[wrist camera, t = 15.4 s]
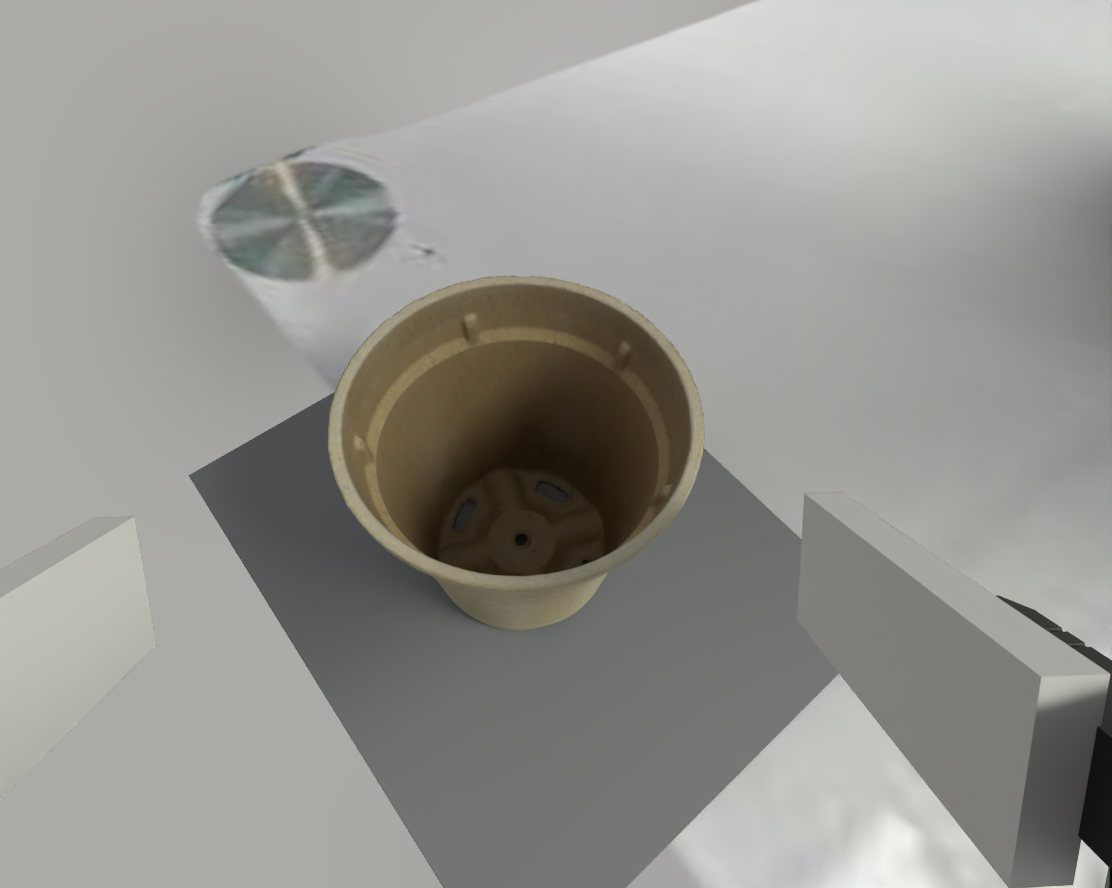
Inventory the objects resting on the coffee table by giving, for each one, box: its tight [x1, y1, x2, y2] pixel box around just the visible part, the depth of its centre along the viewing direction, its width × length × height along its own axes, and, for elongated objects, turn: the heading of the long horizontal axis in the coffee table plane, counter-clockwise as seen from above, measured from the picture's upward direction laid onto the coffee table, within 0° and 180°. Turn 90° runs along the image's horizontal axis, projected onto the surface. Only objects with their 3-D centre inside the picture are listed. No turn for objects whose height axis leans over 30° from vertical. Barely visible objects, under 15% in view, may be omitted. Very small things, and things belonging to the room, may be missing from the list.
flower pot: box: [328, 276, 705, 630], centre depth 21 cm, size 9×9×9 cm
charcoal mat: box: [189, 392, 839, 888], centre depth 25 cm, size 20×16×1 cm
